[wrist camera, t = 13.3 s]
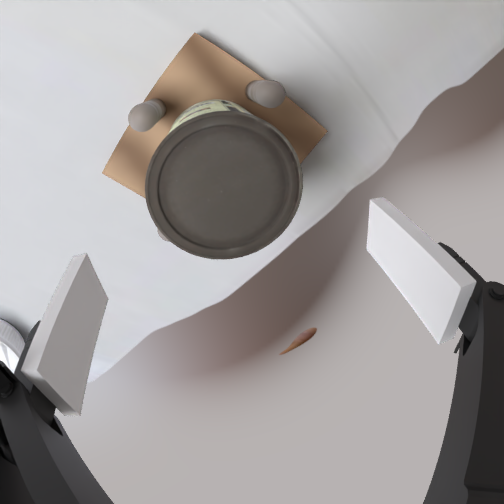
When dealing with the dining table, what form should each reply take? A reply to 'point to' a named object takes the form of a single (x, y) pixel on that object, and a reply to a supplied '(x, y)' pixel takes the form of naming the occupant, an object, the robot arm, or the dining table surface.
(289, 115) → the wooden peg stand
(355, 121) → the dining table surface
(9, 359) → the ramekin
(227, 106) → the coffee can
